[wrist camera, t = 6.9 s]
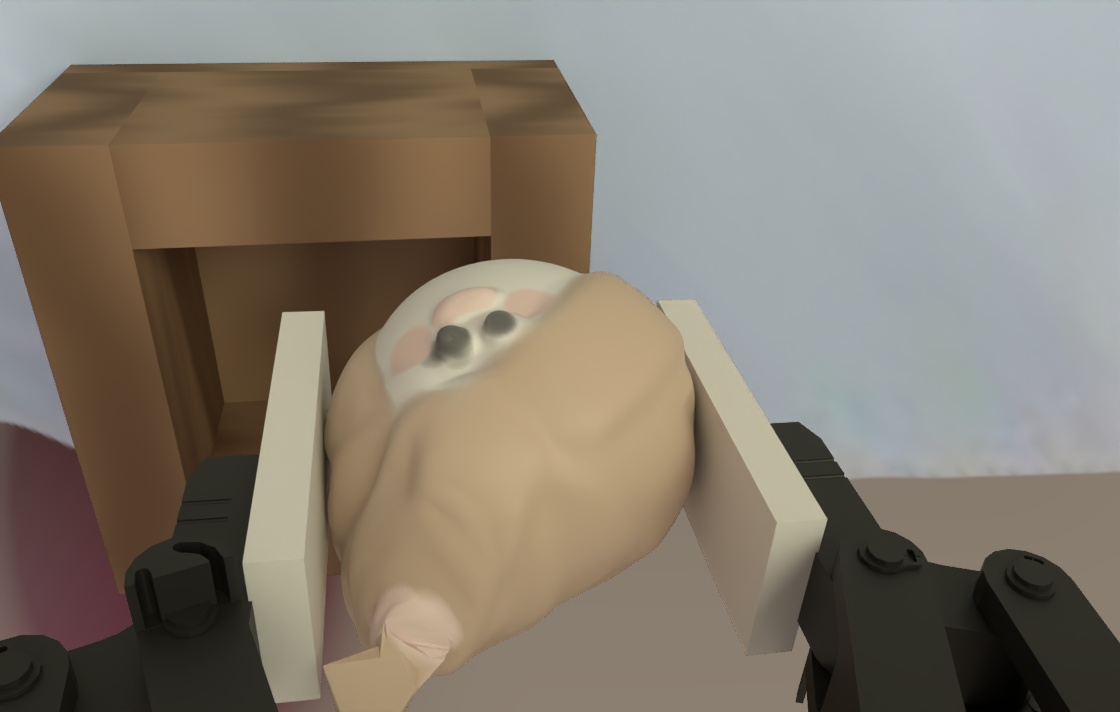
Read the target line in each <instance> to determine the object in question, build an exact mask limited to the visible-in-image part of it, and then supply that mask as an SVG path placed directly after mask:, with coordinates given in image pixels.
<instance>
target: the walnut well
mask: <svg viewBox="0 0 1120 712" xmlns="http://www.w3.org/2000/svg"><path fill="white" fill-rule="evenodd" d="M595 153H596V133H595V131H594V129H593V127H592V126H591V124H590V122H589V121H588V119H587V117H586V115H585V114H584V112H583V110H582V108H581V107H580V105H579V103H578V102H577V100H576V98H575V96H574V95H573V93H572V91H571V89H570V88H569V86H568V84H567V82H566V81H565V79H564V77H563V76H562V74H561V72H560V70H559V69H558V67H557V65H556V63H555V62H554V60H526V61H423V62H321V63H219V64H116V65H71V66H70V67H69V68H68V69H66V70H65V71H64V72H63V73H62V74H61V75H60V76H59V77H58V78H57V79H56V80H55V81H54V82H53V83H52V84H51V85H50V86H49V87H48V88H47V89H45V90H44V91H43V92H42V93H41V94H40V95H39V96H38V97H37V98H36V99H35V100H34V101H33V102H32V103H31V104H30V105H29V106H28V107H27V108H26V109H24V110H23V111H22V112H21V113H20V114H19V115H18V116H17V117H16V118H15V119H14V120H13V121H12V122H11V123H10V124H9V125H8V126H7V127H6V128H5V129H3V130H2V131H1V132H0V201H1V205H2V208H3V211H4V215H5V218H6V221H7V224H8V228H9V231H10V234H11V238H12V241H13V244H14V248H15V251H16V254H17V258H18V261H19V264H20V267H21V271H22V274H23V277H24V281H25V284H26V287H27V291H28V294H29V297H30V301H31V304H32V307H33V310H34V314H35V317H36V320H37V324H38V327H39V330H40V334H41V337H42V340H43V344H44V347H45V350H46V354H47V357H48V360H49V363H50V367H51V370H52V373H53V377H54V380H55V383H56V387H57V390H58V393H59V397H60V400H61V403H62V406H63V410H64V413H65V416H66V420H67V423H68V426H69V430H70V433H71V436H72V440H73V443H74V446H75V449H76V453H77V456H78V459H79V463H80V466H81V469H82V472H83V476H84V479H85V482H86V486H87V489H88V492H89V496H90V499H91V502H92V506H93V509H94V512H95V516H96V519H97V522H98V525H99V529H100V532H101V535H102V539H103V542H104V545H105V549H106V552H107V555H108V559H109V562H110V565H111V569H112V572H113V575H114V579H115V582H116V585H117V588H118V592H119V594H126V593H125V590H124V581H125V572H126V571H127V569H128V568H129V566H130V565H131V564H132V562H133V561H134V559H135V558H136V557H137V556H139V555H140V554H141V553H143V552H144V551H145V550H147V549H148V548H149V547H151V546H153V545H155V544H158V543H160V542H163V541H165V540H168V539H170V538H172V537H173V533H174V529H175V525H177V517H178V513H179V510H180V506H182V498H183V494H184V490H185V486H186V482H187V479H188V477H189V476H190V475H191V474H192V473H193V472H194V471H195V469H196V468H197V467H198V466H199V465H200V464H201V463H202V462H203V460H204V459H205V458H206V457H223V456H240V455H258V454H260V450H261V443H262V437H263V431H264V425H265V418H266V412H267V406H268V399H269V393H270V387H271V381H272V374H273V368H274V362H275V356H276V349H277V343H278V337H279V330H280V324H281V318H282V312H307V311H324V312H325V324H326V336H327V347H328V359H329V371H330V383H331V394H332V395H333V392H334V389H335V387H336V385H337V382H338V380H339V378H340V376H341V373H342V371H343V369H344V368H345V366H346V364H347V362H348V361H349V359H350V358H351V356H352V355H353V354H354V352H355V351H356V350H357V349H358V348H359V346H360V345H361V344H362V343H363V342H364V341H366V340H367V339H368V338H369V337H370V336H372V335H373V334H374V333H376V332H377V331H378V330H380V329H381V328H383V326H384V325H385V323H386V322H387V320H388V319H389V318H390V316H391V315H392V314H393V312H394V311H395V310H396V309H397V308H398V307H399V306H400V304H401V303H402V302H403V301H404V300H405V299H406V298H408V297H409V296H410V295H411V294H412V293H413V292H415V291H416V290H417V289H418V288H420V287H421V286H423V285H424V284H426V283H427V282H429V281H431V280H432V279H434V278H436V277H438V276H440V275H442V274H444V273H446V272H449V271H451V270H454V269H457V268H459V267H463V266H466V265H470V264H474V263H478V262H483V261H490V260H499V259H526V260H535V261H541V262H546V263H551V264H555V265H558V266H562V267H565V268H568V269H571V270H573V271H576V272H578V273H581V274H586V273H589V267H590V248H591V229H592V210H593V191H594V172H595ZM339 574H341V562H340V560H339V557H338V555H337V553H336V550H335V548H334V545H333V541H332V537H331V532H330V526H329V542H328V561H327V576H328V575H339Z"/></svg>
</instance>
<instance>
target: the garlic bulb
mask: <svg viewBox="0 0 1120 712" xmlns="http://www.w3.org/2000/svg"><path fill="white" fill-rule="evenodd" d="M694 417H695V392H694V386H693V381H692V377H691V374H690V372H689V370H688V367H687V365H686V362H685V352H684V341H683V337H682V335H681V333H680V331H679V330H678V328H677V327H676V326H675V325H674V324H673V323H672V322H671V321H670V319H669V318H668V317H667V316H666V315H665V314H664V313H663V312H662V311H661V310H660V309H659V308H658V307H656V306H655V305H654V304H653V303H652V302H651V301H650V300H649V299H648V298H647V297H646V296H645V295H644V294H642V293H641V292H640V291H638V290H637V289H635V288H634V287H633V286H631V285H630V284H628V283H627V282H626V281H624V280H623V279H621V278H619V277H618V276H616V275H614V274H611V273H607V272H592V273H586V274H581V273H578V272H576V271H573V270H571V269H568V268H565V267H562V266H558V265H555V264H551V263H546V262H541V261H535V260H526V259H499V260H490V261H483V262H478V263H474V264H470V265H466V266H463V267H459V268H457V269H454V270H451V271H449V272H446V273H444V274H442V275H440V276H438V277H436V278H434V279H432V280H431V281H429V282H427V283H426V284H424V285H423V286H421V287H420V288H418V289H417V290H416V291H415V292H413V293H412V294H411V295H410V296H409V297H408V298H406V299H405V300H404V301H403V302H402V303H401V304H400V306H399V307H398V308H397V309H396V310H395V311H394V312H393V314H392V315H391V316H390V318H389V319H388V320H387V322H386V323H385V325H384V326H383V328H381V329H380V330H378V331H377V332H376V333H374V334H373V335H372V336H370V337H369V338H368V339H367V340H366V341H364V342H363V343H362V344H361V345H360V346H359V348H358V349H357V350H356V351H355V352H354V354H353V355H352V356H351V358H350V359H349V361H348V362H347V364H346V366H345V368H344V369H343V371H342V373H341V376H340V378H339V380H338V382H337V385H336V387H335V389H334V392H333V395H332V398H331V401H330V405H329V409H328V413H327V417H326V422H325V428H324V446H325V450H326V453H327V456H328V459H329V461H330V464H331V482H330V491H329V496H328V503H327V511H328V520H329V526H330V532H331V537H332V541H333V545H334V548H335V550H336V553H337V555H338V557H339V560H340V562H341V584H342V592H343V597H344V601H345V605H346V608H347V611H348V613H349V616H350V617H351V620H352V621H353V623H354V625H355V627H356V632H357V636H358V639H359V641H360V643H361V645H362V646H363V648H364V649H365V650H366V651H363V652H360V653H357V654H354V655H352V656H349V657H346V658H343V659H341V660H338V661H335V662H332V663H330V664H327V665H324V666H323V668H324V672H325V675H326V678H327V682H328V685H329V689H330V692H331V695H332V699H333V702H334V706H335V709H336V712H405V711H406V709H407V708H408V706H409V704H410V702H411V701H412V699H413V697H414V695H415V694H416V692H417V690H418V689H419V688H420V687H421V686H422V684H423V683H424V682H425V681H426V680H427V679H428V677H431V676H442V675H447V674H450V673H453V672H455V671H456V670H458V669H459V668H461V667H462V666H463V665H464V664H465V663H466V662H468V661H469V660H470V659H471V658H473V657H474V656H476V655H477V654H479V653H480V652H482V651H484V650H486V649H488V648H490V647H492V646H494V645H496V644H498V643H500V642H502V641H505V640H507V639H510V638H512V637H514V636H516V635H518V634H520V633H522V632H524V631H526V630H528V629H529V628H531V627H532V626H534V625H535V624H537V623H538V622H539V621H541V620H542V619H543V618H544V617H546V616H547V615H548V614H549V613H550V612H551V611H552V610H553V609H554V608H555V607H556V606H558V605H559V604H561V603H563V602H565V601H567V600H569V599H571V598H573V597H575V596H577V595H579V594H581V593H583V592H585V591H587V590H589V589H591V588H593V587H595V586H597V585H599V584H601V583H603V582H605V581H607V580H609V579H611V578H612V577H614V576H616V575H617V574H619V573H620V572H622V571H623V570H625V569H626V568H628V567H629V566H630V565H632V564H633V563H635V562H636V561H638V560H640V559H641V558H643V557H644V556H646V555H647V554H649V553H650V552H652V551H653V550H654V549H655V548H656V547H657V546H658V545H659V544H660V543H661V541H662V540H663V539H664V537H665V536H666V534H667V533H668V531H669V530H670V528H671V527H672V525H673V524H674V522H675V520H676V519H677V516H678V515H679V513H680V511H681V509H682V507H683V505H684V503H685V501H686V499H687V497H688V494H689V491H690V488H691V485H692V481H693V477H694V470H695V440H694Z"/></svg>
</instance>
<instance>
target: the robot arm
mask: <svg viewBox="0 0 1120 712" xmlns="http://www.w3.org/2000/svg"><path fill="white" fill-rule="evenodd" d="M657 307H658V308H659V309H660V310H661V311H662V312H663V313H664V314H665V315H666V316H667V317H668V318H669V319H670V321H671V322H672V323H673V324H674V325H675V326H676V327H677V328H678V330H679V331H680V333H681V335H682V337H683V341H684V352H685V362H686V365H687V367H688V370H689V372H690V374H691V377H692V381H693V386H694V392H695V417H694V440H695V470H694V477H693V481H692V485H691V488H690V491H689V494H688V497H687V499H686V501H685V503H684V505H683V507H684V509H685V512H686V514H687V517H688V519H689V522H690V524H691V526H692V528H693V531H694V533H695V536H696V538H697V541H698V543H699V545H700V548H701V550H702V552H703V555H704V557H705V560H706V562H707V564H708V567H709V569H710V572H711V574H712V576H713V579H714V581H715V583H716V586H717V588H718V591H719V593H720V595H721V598H722V600H723V602H724V605H725V607H726V609H727V612H728V614H729V616H730V619H731V621H732V624H733V626H734V628H735V631H736V633H737V636H738V638H739V640H740V643H741V645H742V648H743V650H744V652H745V655H746V656H747V655H758V654H767V653H778V652H787V651H792V648H793V645H794V641H795V637H796V634H797V630H798V626H799V625H800V627H801V629H802V631H803V633H804V635H805V637H806V639H807V641H808V643H809V645H810V649H809V653H808V656H807V660H806V664H805V667H804V670H803V674H802V678H801V681H800V684H799V688H798V692H797V698H796V702H798V703H803V701H804V698H805V694H806V691H807V700H808V712H1120V643H1119V642H1118V640H1117V639H1116V637H1115V636H1114V635H1113V634H1112V632H1111V631H1110V629H1109V628H1108V627H1107V625H1106V624H1105V623H1104V621H1103V620H1102V619H1101V618H1100V616H1099V615H1098V613H1097V612H1096V611H1095V609H1094V608H1093V607H1092V605H1091V604H1090V603H1089V601H1088V600H1087V599H1086V597H1085V596H1084V595H1083V593H1082V592H1081V591H1080V589H1079V588H1078V587H1077V585H1076V584H1075V582H1074V581H1073V580H1072V579H1071V578H1070V577H1069V576H1068V575H1067V574H1066V573H1065V572H1064V571H1063V570H1062V569H1061V568H1060V567H1058V566H1057V565H1055V564H1054V563H1052V562H1050V561H1048V560H1047V559H1045V558H1044V557H1041V556H1038V555H1035V554H1032V553H1029V552H1026V551H1020V550H1012V549H1006V550H1000V551H995V552H993V553H992V554H990V555H989V556H988V557H987V558H985V560H984V563H983V565H982V568H981V570H980V571H974V570H968V569H962V568H956V567H949V566H943V565H938V564H935V563H930V562H928V561H927V560H926V558H925V556H924V554H923V552H922V551H921V550H920V549H919V548H918V547H917V546H916V545H914V544H913V543H912V542H911V541H910V540H907V539H906V538H904V537H902V536H900V535H898V534H896V533H894V532H890V531H887V530H883V529H881V528H880V526H879V525H878V524H877V522H876V521H875V519H874V517H873V516H872V515H871V513H870V511H869V510H868V509H867V507H866V506H865V504H864V502H863V501H862V499H861V498H860V496H859V495H858V493H857V492H856V491H855V489H854V487H853V486H852V485H851V483H850V481H849V480H848V478H847V477H846V478H845V477H844V472H843V471H842V469H841V468H840V466H839V465H838V463H837V462H834V457H833V456H832V454H831V453H830V451H829V450H828V448H827V447H826V445H825V444H824V442H823V441H822V439H821V438H819V437H818V436H817V435H815V434H814V433H813V432H811V431H810V430H809V429H807V428H806V427H805V426H803V425H802V424H801V423H799V422H789V423H771V424H770V423H769V422H768V420H767V418H766V417H765V415H764V413H763V412H762V410H761V408H760V407H759V405H758V403H757V402H756V400H755V398H754V397H753V395H752V393H751V392H750V390H749V388H748V387H747V385H746V384H745V382H744V380H743V379H742V377H741V375H740V374H739V372H738V370H737V369H736V367H735V365H734V364H733V362H732V360H731V359H730V357H729V355H728V354H727V352H726V351H725V349H724V347H723V346H722V344H721V342H720V341H719V339H718V337H717V336H716V334H715V332H714V331H713V329H712V327H711V326H710V324H709V322H708V321H707V319H706V317H705V316H704V314H703V313H702V311H701V309H700V308H699V306H698V304H697V303H696V301H695V299H685V300H658V303H657ZM331 398H332V394H331V383H330V371H329V359H328V347H327V336H326V324H325V312H324V311H307V312H282V318H281V324H280V330H279V337H278V343H277V349H276V356H275V362H274V368H273V374H272V381H271V387H270V393H269V399H268V406H267V412H266V418H265V425H264V431H263V437H262V443H261V450H260V454H258V455H240V456H223V457H206V458H205V459H204V460H203V462H202V463H201V464H200V465H199V466H198V467H197V468H196V469H195V471H194V472H193V473H192V474H191V475H190V476H189V477H188V479H187V482H186V486H185V490H184V494H183V498H182V506H180V510H179V513H178V517H177V525H175V529H174V533H173V537H172V538H170V539H168V540H165V541H163V542H160V543H158V544H155V545H153V546H151V547H149V548H148V549H147V550H145V551H144V552H143V553H141V554H140V555H139V556H137V557H136V558H135V559H134V561H133V562H132V564H131V565H130V566H129V568H128V569H127V571H126V572H125V581H124V590H125V593H126V597H127V601H128V605H129V609H130V612H131V617H132V621H133V625H131V626H130V627H128V628H127V629H125V630H123V631H121V632H120V633H118V634H116V635H113V636H111V637H108V638H106V639H104V640H101V641H98V642H95V643H92V644H89V645H86V646H83V647H80V648H77V649H74V650H70V651H67V650H66V649H65V648H64V647H63V646H62V644H60V642H59V641H57V640H54V639H52V638H49V637H46V636H43V635H20V636H17V637H13V638H9V639H6V640H2V641H0V712H278V709H277V706H276V703H282V702H292V701H302V700H312V699H320V693H321V692H320V691H321V674H322V655H323V637H324V636H323V635H324V617H325V598H326V579H327V561H328V542H329V520H328V511H327V503H328V496H329V491H330V482H331V464H330V461H329V459H328V456H327V453H326V450H325V446H324V428H325V422H326V417H327V413H328V409H329V405H330V401H331Z"/></svg>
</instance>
